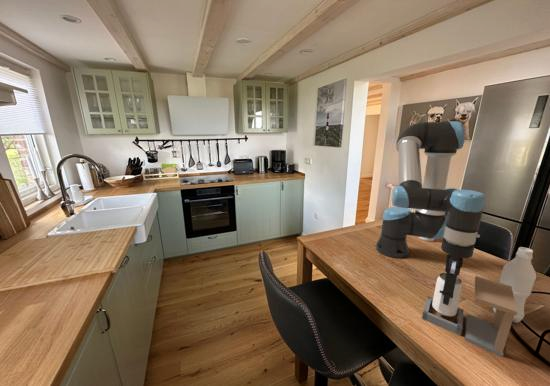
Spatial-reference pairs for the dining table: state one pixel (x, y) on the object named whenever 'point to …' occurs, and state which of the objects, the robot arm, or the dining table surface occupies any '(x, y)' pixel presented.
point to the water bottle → (519, 279)
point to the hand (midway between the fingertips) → (444, 304)
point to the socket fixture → (479, 329)
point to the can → (437, 295)
